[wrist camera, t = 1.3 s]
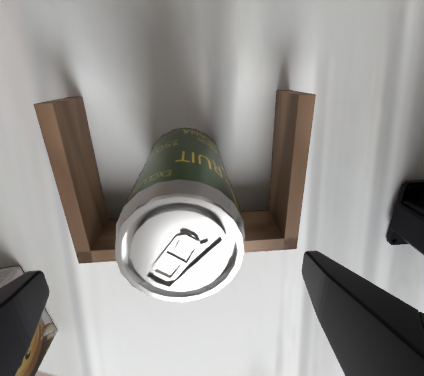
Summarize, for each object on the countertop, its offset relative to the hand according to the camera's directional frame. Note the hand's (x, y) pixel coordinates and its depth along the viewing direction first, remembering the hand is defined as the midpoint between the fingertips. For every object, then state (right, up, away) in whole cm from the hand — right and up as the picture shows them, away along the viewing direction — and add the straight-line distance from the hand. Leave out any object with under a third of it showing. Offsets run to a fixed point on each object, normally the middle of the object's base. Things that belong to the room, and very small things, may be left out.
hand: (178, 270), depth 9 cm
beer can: (-1, +5, +12) cm, 13 cm away
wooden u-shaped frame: (-1, +5, +12) cm, 13 cm away
